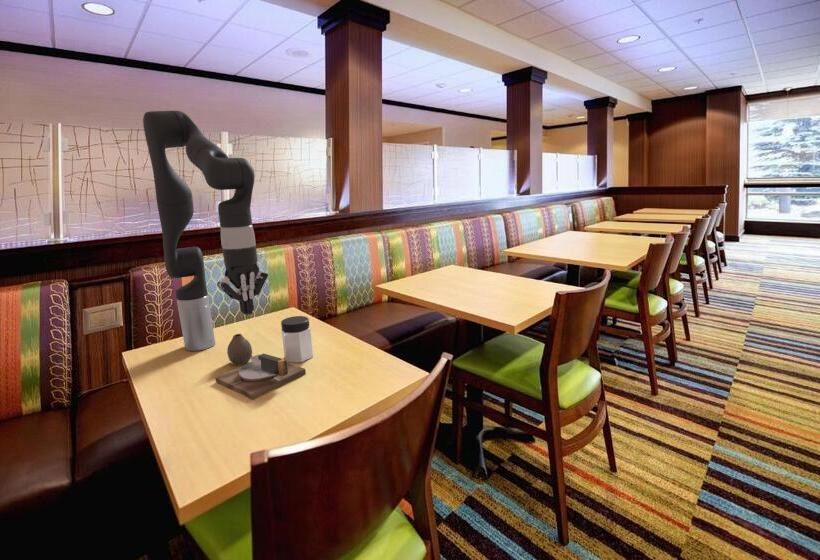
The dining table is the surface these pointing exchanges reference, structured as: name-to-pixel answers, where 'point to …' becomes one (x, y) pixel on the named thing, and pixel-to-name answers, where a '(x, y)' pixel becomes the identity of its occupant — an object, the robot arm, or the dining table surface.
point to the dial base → (260, 387)
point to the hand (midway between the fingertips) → (247, 313)
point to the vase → (239, 350)
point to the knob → (263, 368)
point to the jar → (296, 339)
